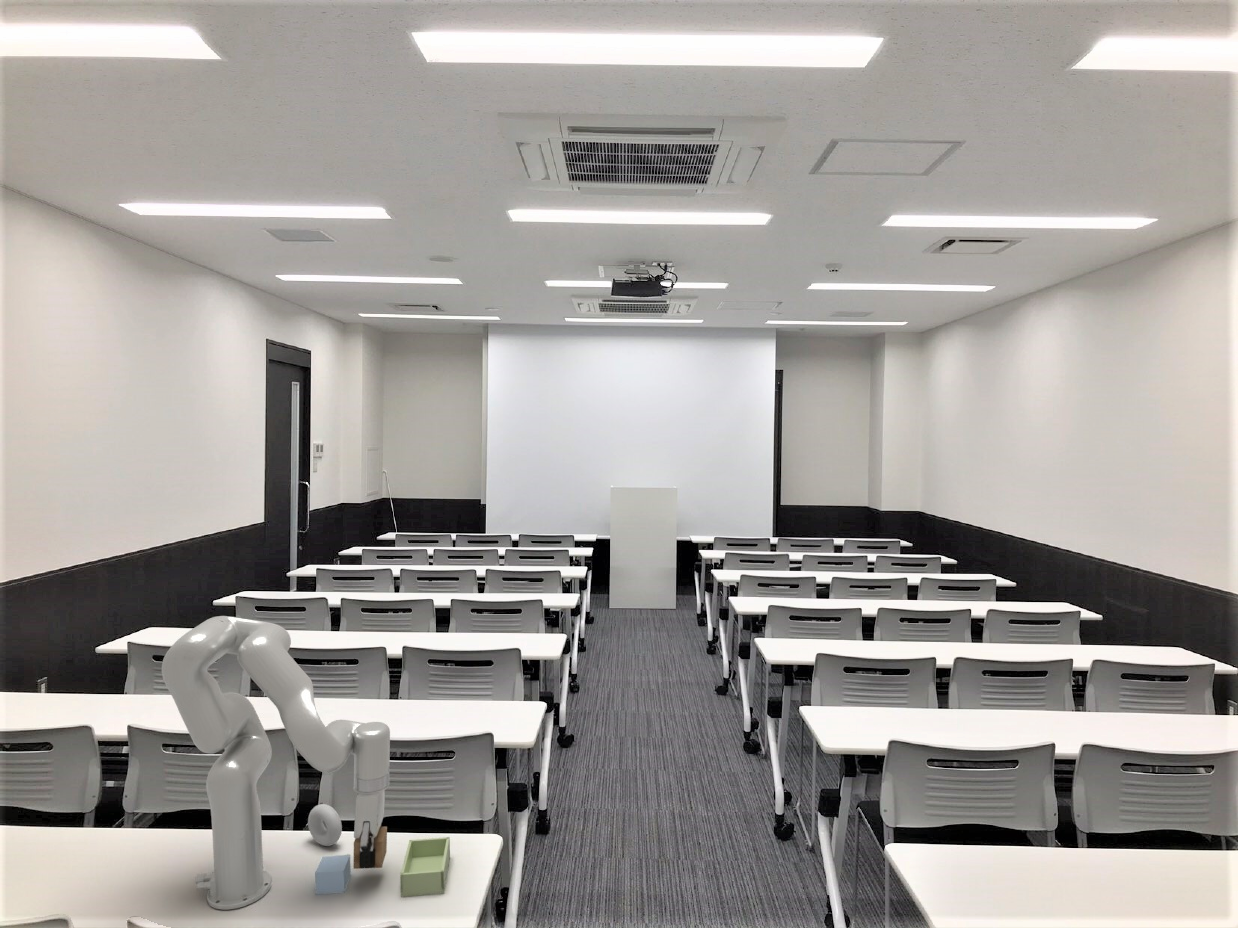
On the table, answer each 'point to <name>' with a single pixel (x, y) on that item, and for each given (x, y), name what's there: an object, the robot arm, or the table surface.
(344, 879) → the blue carton
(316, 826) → the donut
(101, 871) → the table surface
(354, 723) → the robot arm
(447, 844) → the box
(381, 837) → the walnut block
